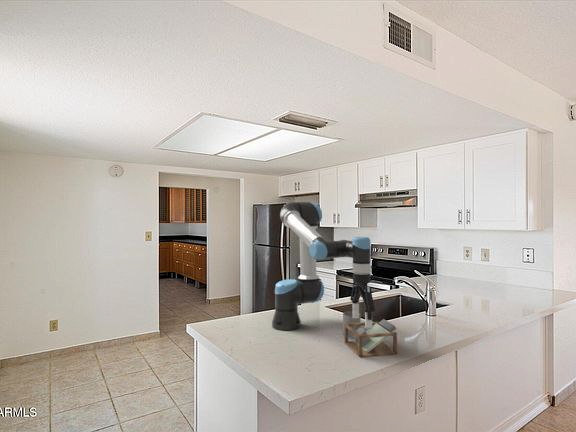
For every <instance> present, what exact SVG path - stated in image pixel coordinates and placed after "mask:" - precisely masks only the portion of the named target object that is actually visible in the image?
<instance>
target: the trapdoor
mask: <svg viewBox="0 0 576 432" xmlns="http://www.w3.org/2000/svg"><path fill="white" fill-rule="evenodd" d="M378 322H379V325H378V324H377V323H376V324H375V325H372V327H370V328H367V330H365V331H366V333H367V334H379V333H392V332H395V331H396V330H397V327H396V326H395V325H394V324H392V323H391V322H389V321H388V320H386V319H384V318H382V319H381V320H380V321H378ZM389 337H390V336H386V337H373V338H370V339H371V341H370V342H368V343H367V344H366V345H364V346H363V347H362V349H363V350H364V351H365V352H366V353H368V352H369V351H370V350H372V349H373V348H374V347H376V346H377V345H378V344H380V343H381V342H382V341H383V342H384V341H385V340H386V339H387V338H389ZM353 341H354V342H355V343H356V344H357V342H356V341H355V339H354V340H353ZM357 345H358V344H357Z"/></svg>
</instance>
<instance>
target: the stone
mask: <svg viewBox="0 0 576 432" xmlns="http://www.w3.org/2000/svg"><path fill="white" fill-rule="evenodd" d="M356 331H357V332H358V333H359V334H360V335H366V334H367V333H366V331H367V330H365V329H363V328H362V326H361V327H360V328H359V329H357V330H356ZM352 336H353V337H354V338H353V339H354V340H355V341H356V342H357V344H358V337H357V336H356V335H354V334H353V333H352ZM370 341H371V339H370V338H362V347H363V346H364V345H366V344H367V343H368V342H370Z"/></svg>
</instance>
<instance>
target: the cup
mask: <svg viewBox="0 0 576 432" xmlns="http://www.w3.org/2000/svg"><path fill="white" fill-rule="evenodd" d="M351 323H362V321H361V313H360V312H359V318H353V311H344V312H343V313H342V335H343V337H345V324H351ZM360 327H361V328H362V326H352V328H353V329H354V330H355V331H356V330H357V329H359V328H360ZM348 338H351V339H354V337H353V336H352V332H351V331H350V330H349V329H348Z"/></svg>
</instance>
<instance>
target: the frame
mask: <svg viewBox="0 0 576 432" xmlns="http://www.w3.org/2000/svg"><path fill="white" fill-rule="evenodd" d="M379 322H380V321H372V326H373V325H375V324H376V323H377V324H378V325H379ZM352 326H361V327H363V326H364V327H365V322H361V323H351V324H345V336H344V344H345V345H346V346H347V347H348V348H349V349H350V350H352V351H353V353H354V354H355V355H356V356H358V357H359V358H366V357H367V358H368V357H375V356H376V357H377V356H387V355H388V356H389V355H397V354H398V333H397V332H396V331H393V332H392V333H379V334H366V335H360V334H359V333H358V332H357V331H355V330H354V329H353V328H352ZM348 329H349V330H350V331H351V332H352V333H353V334H354V335H356V336H357V337H358V345H357V344H356V343H355V342H354V340H349V337H348ZM386 336H389V337H392V347H391V346H389V345H388V344H387V343H385V342H384V340H383V341H382V342H381V343H380V344H378V345H377V346H376V347H374V348H373V349H372V350H370V351H369V352H368V353H366V352H365V351H364V350H363V349H362V338H373V337H386Z"/></svg>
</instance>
